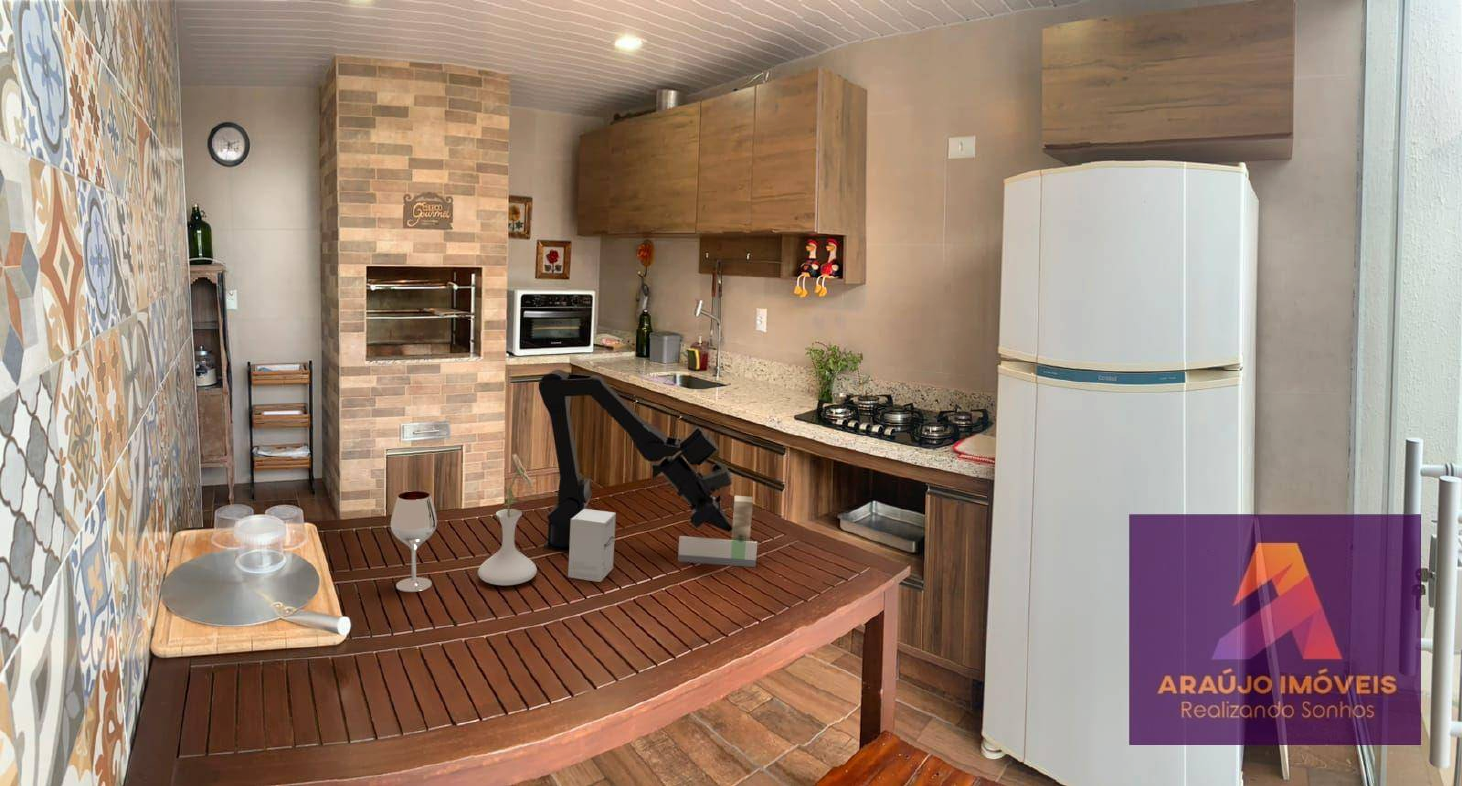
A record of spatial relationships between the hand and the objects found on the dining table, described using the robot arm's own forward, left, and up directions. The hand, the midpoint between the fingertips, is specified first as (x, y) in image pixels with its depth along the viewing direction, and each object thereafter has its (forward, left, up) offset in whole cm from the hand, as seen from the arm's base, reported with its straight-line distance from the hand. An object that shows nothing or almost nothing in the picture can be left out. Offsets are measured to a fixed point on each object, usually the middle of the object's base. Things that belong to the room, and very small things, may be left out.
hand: (730, 530), depth 179 cm
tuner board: (-2, -1, -7) cm, 7 cm away
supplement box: (-22, -23, -7) cm, 32 cm away
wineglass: (-48, -45, -7) cm, 66 cm away
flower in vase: (-35, -33, -7) cm, 48 cm away
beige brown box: (+2, 0, -5) cm, 5 cm away
